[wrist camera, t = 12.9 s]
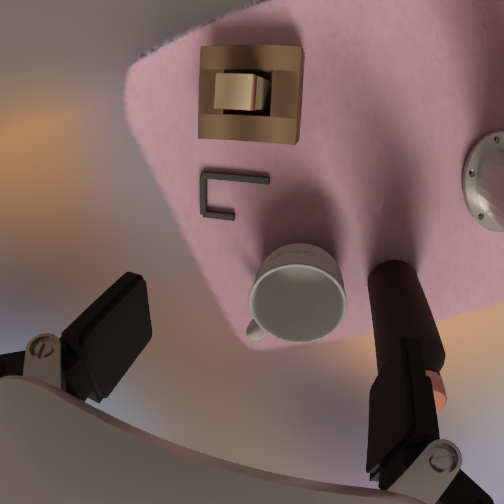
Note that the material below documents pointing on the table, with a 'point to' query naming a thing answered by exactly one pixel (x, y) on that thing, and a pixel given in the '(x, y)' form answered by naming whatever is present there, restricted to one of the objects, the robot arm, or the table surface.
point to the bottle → (405, 319)
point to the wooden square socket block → (282, 95)
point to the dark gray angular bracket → (223, 176)
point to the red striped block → (241, 92)
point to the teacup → (297, 295)
